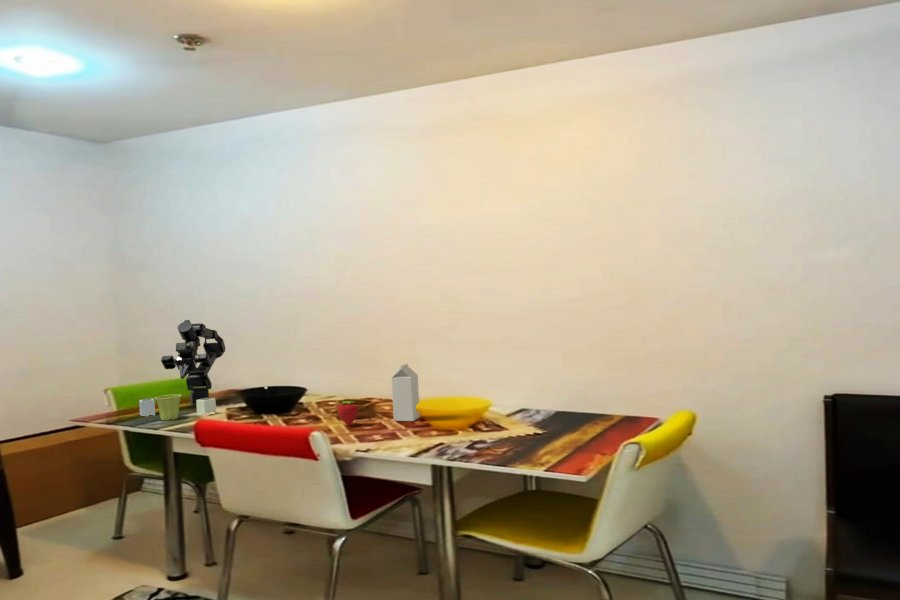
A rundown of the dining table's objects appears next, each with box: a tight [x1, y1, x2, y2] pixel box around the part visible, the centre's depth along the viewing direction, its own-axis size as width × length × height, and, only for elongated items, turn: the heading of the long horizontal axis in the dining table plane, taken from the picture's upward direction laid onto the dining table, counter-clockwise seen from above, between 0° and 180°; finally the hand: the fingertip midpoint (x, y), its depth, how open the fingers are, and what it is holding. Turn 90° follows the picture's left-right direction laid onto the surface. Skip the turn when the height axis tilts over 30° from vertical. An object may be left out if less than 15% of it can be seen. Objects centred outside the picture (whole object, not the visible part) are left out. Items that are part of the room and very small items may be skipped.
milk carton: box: [391, 363, 421, 422], centre depth 234 cm, size 7×7×19 cm
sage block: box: [195, 397, 217, 417], centre depth 262 cm, size 5×5×6 cm
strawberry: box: [337, 396, 359, 427], centre depth 228 cm, size 6×8×10 cm
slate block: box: [138, 398, 156, 417], centre depth 267 cm, size 5×5×6 cm
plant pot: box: [154, 393, 182, 421], centre depth 256 cm, size 9×9×9 cm
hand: (181, 378), depth 270 cm, fingers closed
